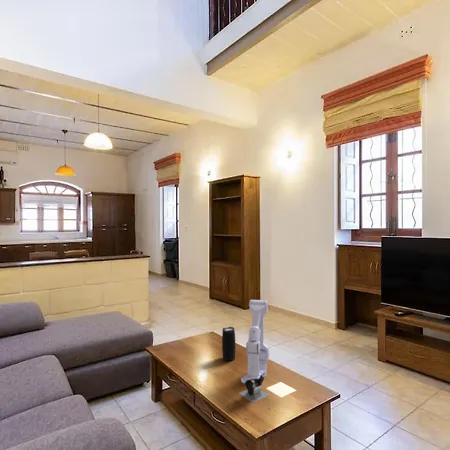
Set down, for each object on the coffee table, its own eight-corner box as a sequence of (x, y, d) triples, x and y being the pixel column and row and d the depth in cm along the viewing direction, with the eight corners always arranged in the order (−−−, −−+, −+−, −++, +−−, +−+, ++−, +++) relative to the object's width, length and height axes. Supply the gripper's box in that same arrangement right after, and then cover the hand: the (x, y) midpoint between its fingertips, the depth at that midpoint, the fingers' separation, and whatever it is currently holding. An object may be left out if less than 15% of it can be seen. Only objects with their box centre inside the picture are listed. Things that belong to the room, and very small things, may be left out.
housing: (246, 392, 159) (246, 382, 159) (253, 390, 161) (252, 380, 161) (254, 398, 154) (254, 388, 154) (261, 395, 156) (261, 385, 156)
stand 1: (238, 396, 159) (238, 393, 159) (255, 389, 165) (255, 386, 165) (252, 405, 150) (252, 402, 150) (269, 398, 156) (269, 395, 156)
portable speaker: (232, 355, 209) (232, 325, 209) (237, 360, 200) (237, 330, 200) (220, 357, 206) (220, 327, 206) (224, 362, 197) (224, 331, 197)
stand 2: (265, 391, 163) (265, 388, 163) (280, 384, 169) (280, 381, 169) (281, 400, 154) (281, 397, 154) (296, 393, 160) (296, 390, 160)
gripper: (247, 372, 150) (247, 401, 150) (269, 364, 159) (270, 391, 158) (238, 367, 156) (238, 394, 156) (260, 359, 164) (260, 385, 164)
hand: (253, 392), depth 157 cm, fingers closed on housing, 4 cm apart
